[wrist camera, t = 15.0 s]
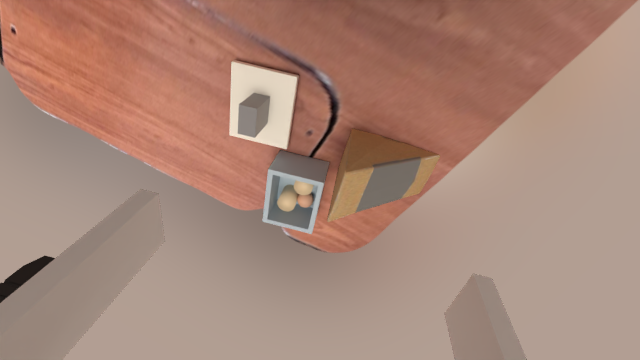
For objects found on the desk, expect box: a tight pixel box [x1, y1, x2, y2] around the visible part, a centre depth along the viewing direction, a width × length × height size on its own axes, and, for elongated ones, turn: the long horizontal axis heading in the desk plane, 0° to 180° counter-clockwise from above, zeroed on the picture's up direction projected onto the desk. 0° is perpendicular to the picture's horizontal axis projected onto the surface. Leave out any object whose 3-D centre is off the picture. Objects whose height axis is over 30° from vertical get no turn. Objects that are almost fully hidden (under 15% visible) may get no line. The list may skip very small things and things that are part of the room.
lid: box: [230, 60, 299, 149], centre depth 45 cm, size 12×10×8 cm
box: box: [263, 150, 330, 234], centre depth 52 cm, size 11×9×7 cm
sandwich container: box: [327, 128, 440, 222], centre depth 44 cm, size 9×15×15 cm, turn 75°
